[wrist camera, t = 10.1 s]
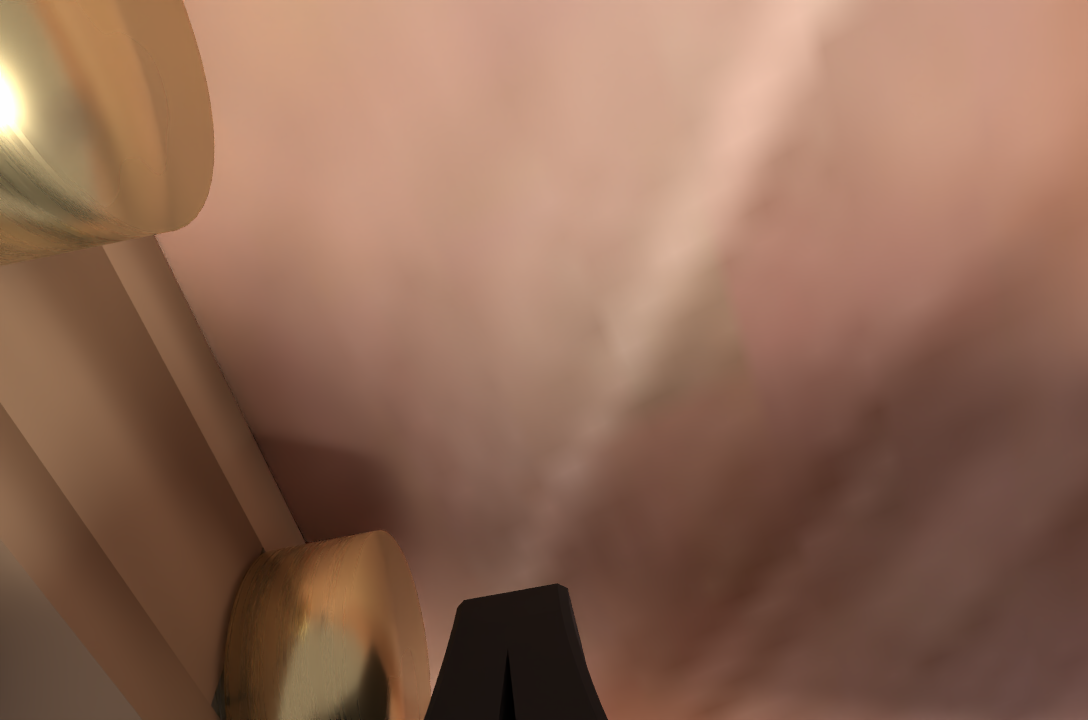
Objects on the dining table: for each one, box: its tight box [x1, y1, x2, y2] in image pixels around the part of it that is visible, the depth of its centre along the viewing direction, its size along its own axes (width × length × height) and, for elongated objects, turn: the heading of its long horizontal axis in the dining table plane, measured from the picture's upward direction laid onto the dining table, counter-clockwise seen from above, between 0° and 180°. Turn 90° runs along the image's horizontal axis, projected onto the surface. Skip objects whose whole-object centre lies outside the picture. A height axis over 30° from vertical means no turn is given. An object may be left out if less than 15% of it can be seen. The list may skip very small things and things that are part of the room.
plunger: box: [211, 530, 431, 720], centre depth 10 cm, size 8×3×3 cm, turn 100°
